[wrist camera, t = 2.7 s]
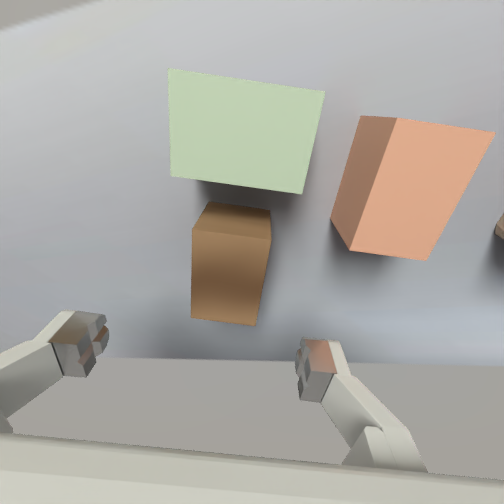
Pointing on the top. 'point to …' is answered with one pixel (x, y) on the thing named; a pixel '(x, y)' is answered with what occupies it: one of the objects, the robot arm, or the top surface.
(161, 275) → the top surface
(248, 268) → the walnut block
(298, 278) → the top surface
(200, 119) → the sage block
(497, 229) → the brick
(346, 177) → the terracotta block
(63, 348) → the robot arm
